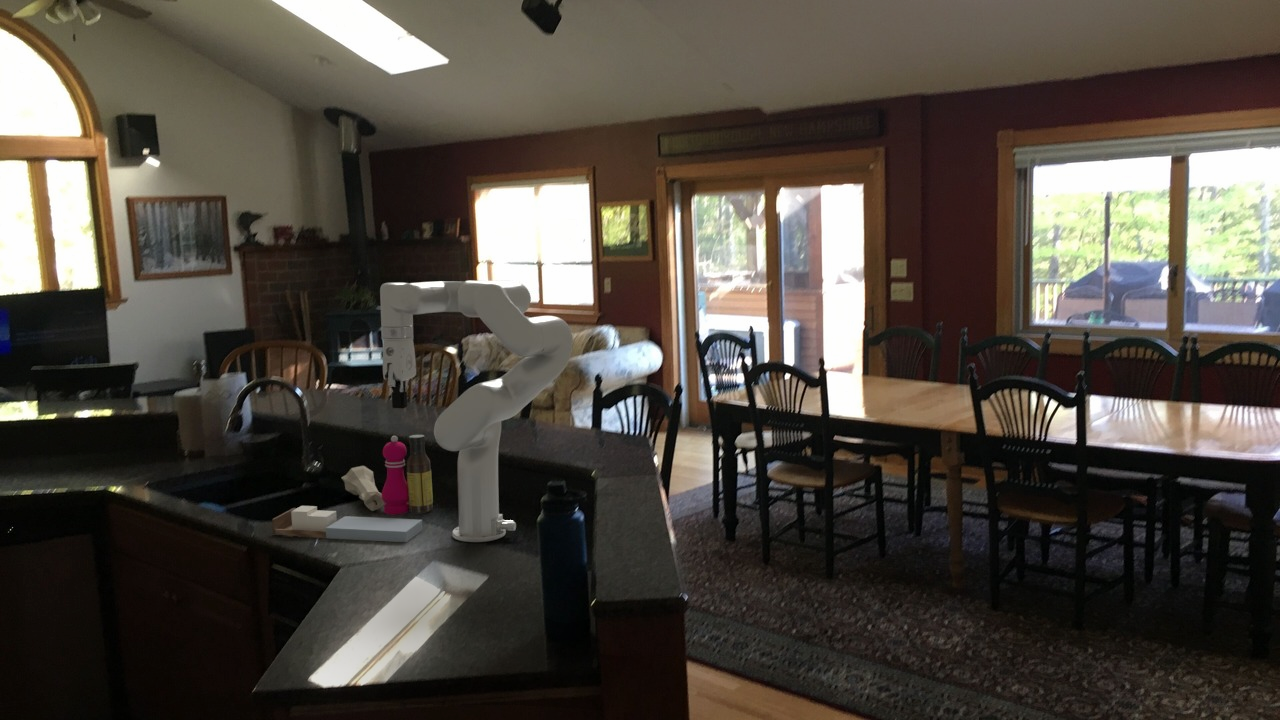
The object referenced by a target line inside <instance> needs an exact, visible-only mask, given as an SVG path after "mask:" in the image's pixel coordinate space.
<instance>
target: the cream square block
mask: <svg viewBox="0 0 1280 720" xmlns="http://www.w3.org/2000/svg"><path fill="white" fill-rule="evenodd" d="M295 508H296V507H295ZM317 510H318V506H315V505H300V506H299V507H297V508H296V509H295V510H293V511H291V515H292V530H308V524H307V516H308V515H310V514H312V513H313V512H315V511H317Z"/></svg>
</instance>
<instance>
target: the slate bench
mask: <svg viewBox="0 0 1280 720" xmlns="http://www.w3.org/2000/svg"><path fill="white" fill-rule="evenodd" d="M337 520H338V521H336V522H335V523H333V524H331V525H330V526H328V527H327V528H326V538H325V539H335V540H337V539H339V540H357V541H373V542H374V541H379V542H396V543H408V542H409V541H410V540H411V539H412V538H414V537H416V535H418V534H419V533H421V532H422V531H423V530H424V529H423V519H413V518H411V519H410V518H391V517H373V516H371V517H369V516H348V515H347V516H346V515H345V516H343V517H342V518H340V519H337Z"/></svg>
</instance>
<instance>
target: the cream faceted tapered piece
mask: <svg viewBox="0 0 1280 720" xmlns="http://www.w3.org/2000/svg"><path fill="white" fill-rule="evenodd" d="M374 476H375V475H374V471H373V470H371V469H369V468H368V467H367V466H365V465H360V466H355V467H351V468H350V469H349V471H348V472H347V473H346V474H345V475H343V476H341V480H342V481H343V483H344V487H345V488H344V489H345V490H346V491H347V492H349V493H351V494H352V495H353V496H358V498H359V499H360V500H361V501H363V503H364V506H365V507H367V509H368V510H370V511H371V512H374V511H376V510H379V509H381V508H382V506H384V505H385V504H386V503H385V502H384V501H383V499H382V492H379V490H378V488H377V486H376V483H375V478H374Z"/></svg>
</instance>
